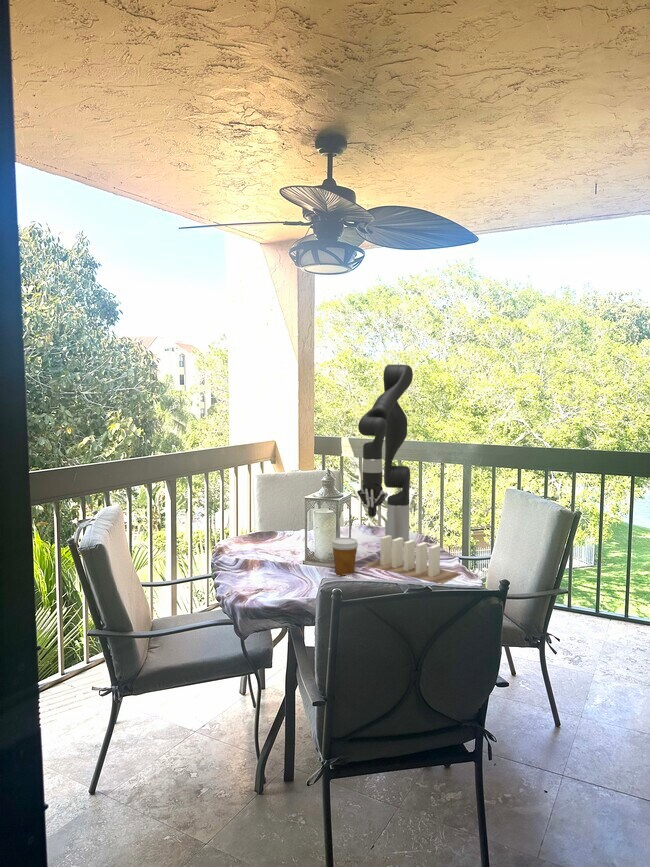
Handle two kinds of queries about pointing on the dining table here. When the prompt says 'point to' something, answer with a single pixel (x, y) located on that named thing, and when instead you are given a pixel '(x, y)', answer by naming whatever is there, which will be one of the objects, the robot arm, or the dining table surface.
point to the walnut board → (439, 578)
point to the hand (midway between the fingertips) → (372, 516)
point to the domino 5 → (434, 560)
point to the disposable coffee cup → (344, 555)
